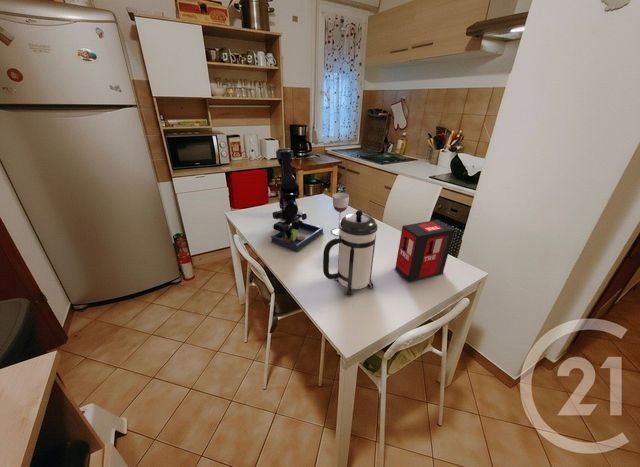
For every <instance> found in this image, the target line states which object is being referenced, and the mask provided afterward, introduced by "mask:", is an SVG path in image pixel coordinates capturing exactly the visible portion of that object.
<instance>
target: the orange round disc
mask: <svg viewBox="0 0 640 467" xmlns="http://www.w3.org/2000/svg"><path fill="white" fill-rule="evenodd" d="M304 239H305V237H304V236H298V237H297V241H303V240H304Z"/></svg>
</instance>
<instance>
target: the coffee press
mask: <svg viewBox="0 0 640 467" xmlns="http://www.w3.org/2000/svg"><path fill="white" fill-rule="evenodd" d="M339 228H340V233H339V235H338V238H333V239H331V240H330V241H328V242H327V243H326V244H325V246H324V249H323V255H322V272H323V275H324V277H325V278H326V279H328V280H335V281H338V282H339V283H340V284H341V285H342V286H343V287H345V288H346V293H345V294H346V295H347V296H351V294H352V290H361V289H363V288H366V287H367V288H369V289H370V290H372V289H373V288H374V283H373V282H372V274H373V264H374V257H375V247H376V239H377V235H376V233H377V231H378V228H379V226H378V223H377V222H376V220H375V219H374V218H373V217H372V216H370V215H369V214H365V213H363V211H362V210H360V209H358V210H356V212H355V213H350V214H347V215H345V216H344V217H342V218H341V221H340V223H339V222H338V229H339ZM336 245H338V257H337V258H338V260H337V272H336V273H330V252H331V249H332V247H334V246H336Z"/></svg>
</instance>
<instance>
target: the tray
mask: <svg viewBox="0 0 640 467" xmlns="http://www.w3.org/2000/svg"><path fill="white" fill-rule="evenodd" d="M290 227H291V228H292V224H290ZM323 234H324V227H321V226H318V225H314V224H312V223H308V222H305V221H302V223H301V225H300V227H299V228H298V236H304V237H305V239H304V240H303V241H297V239H296V240H294V241H291V240H290V242H288V241H285V240H283V239H284V238H285V232H280V231H277V232H276V233H275V234H272V235H271V243H273V244H275V245H278V246H280V247H282V248H283V247H284V248H286V249H288V250H291V251H294V252H296V253H297V252H299V251H301V250H302V249H303V248H305V247H306V246H307V245H309V244H311V243H312V242H314V241H315V240H316V239H317V238H319V237H320V236H321V235H323Z"/></svg>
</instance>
